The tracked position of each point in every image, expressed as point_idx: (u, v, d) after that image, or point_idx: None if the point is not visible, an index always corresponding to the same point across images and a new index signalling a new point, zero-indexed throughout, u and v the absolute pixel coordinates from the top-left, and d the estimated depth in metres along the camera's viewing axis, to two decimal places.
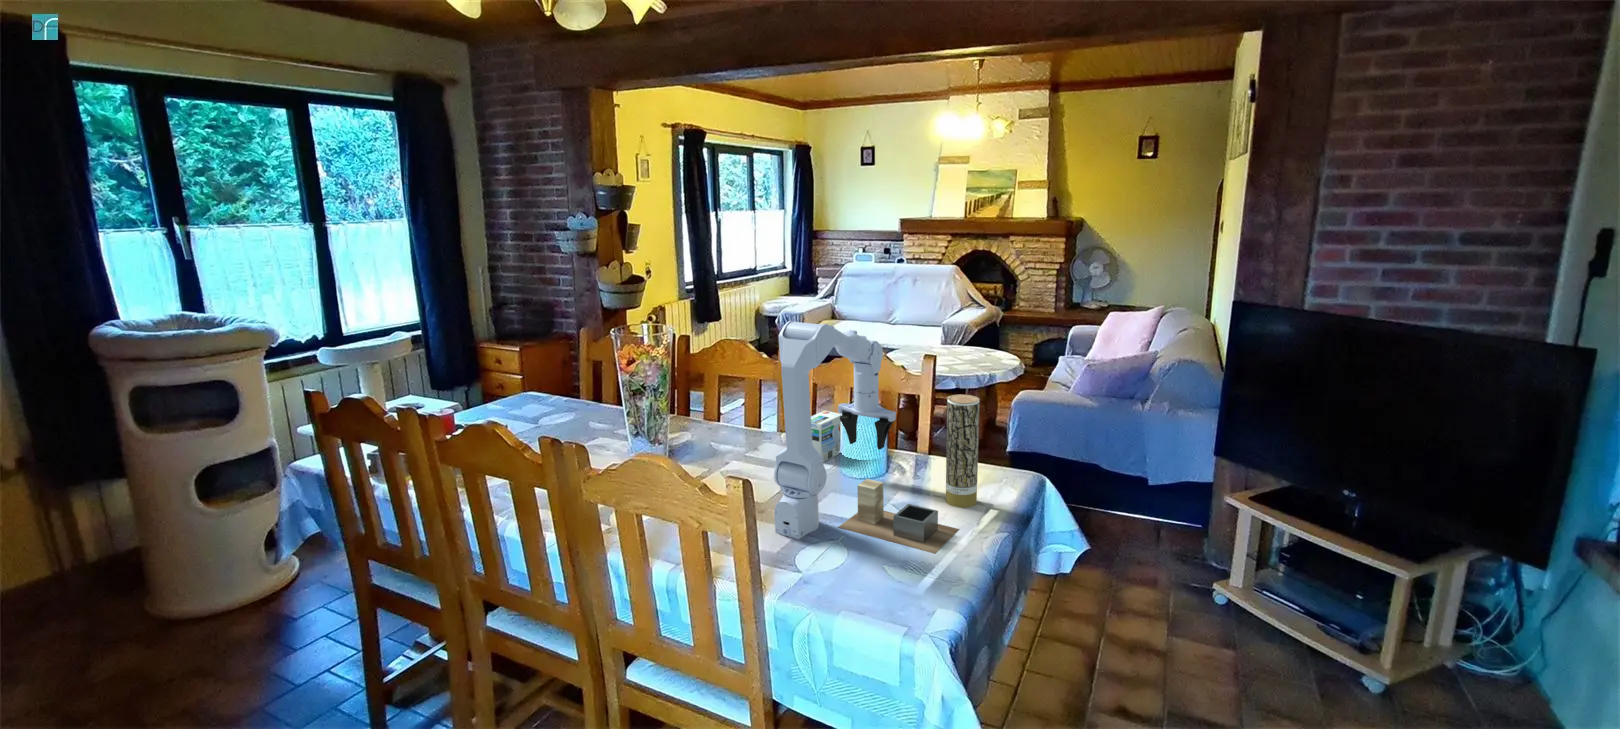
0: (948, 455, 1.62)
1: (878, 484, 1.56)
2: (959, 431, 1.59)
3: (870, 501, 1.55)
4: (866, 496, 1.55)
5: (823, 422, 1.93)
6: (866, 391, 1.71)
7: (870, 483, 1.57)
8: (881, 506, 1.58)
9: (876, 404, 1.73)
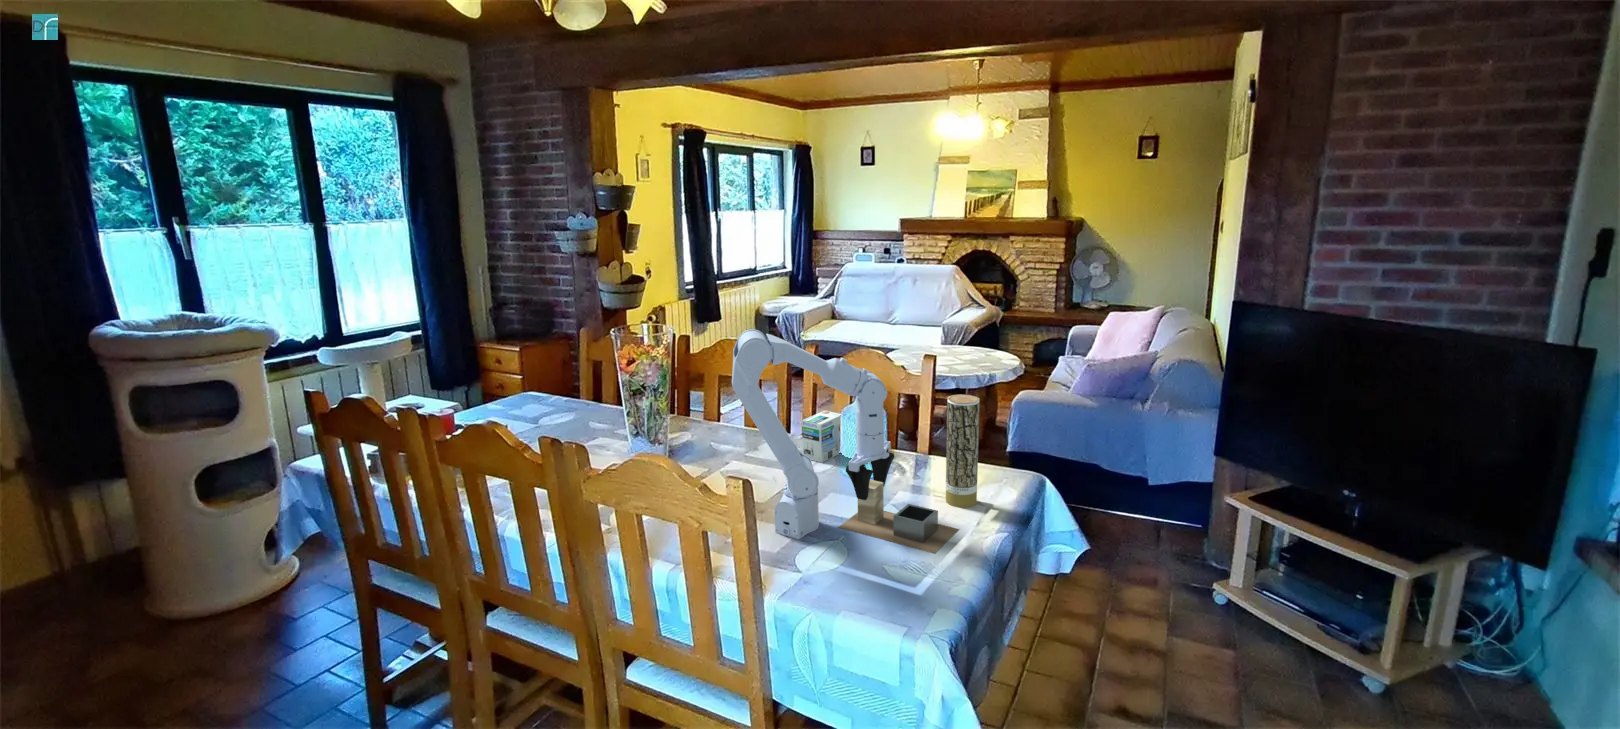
0: (948, 455, 1.62)
1: (878, 484, 1.56)
2: (959, 431, 1.59)
3: (870, 501, 1.55)
4: None
5: (823, 422, 1.93)
6: (860, 431, 1.52)
7: (870, 483, 1.57)
8: (881, 506, 1.58)
9: (862, 448, 1.52)
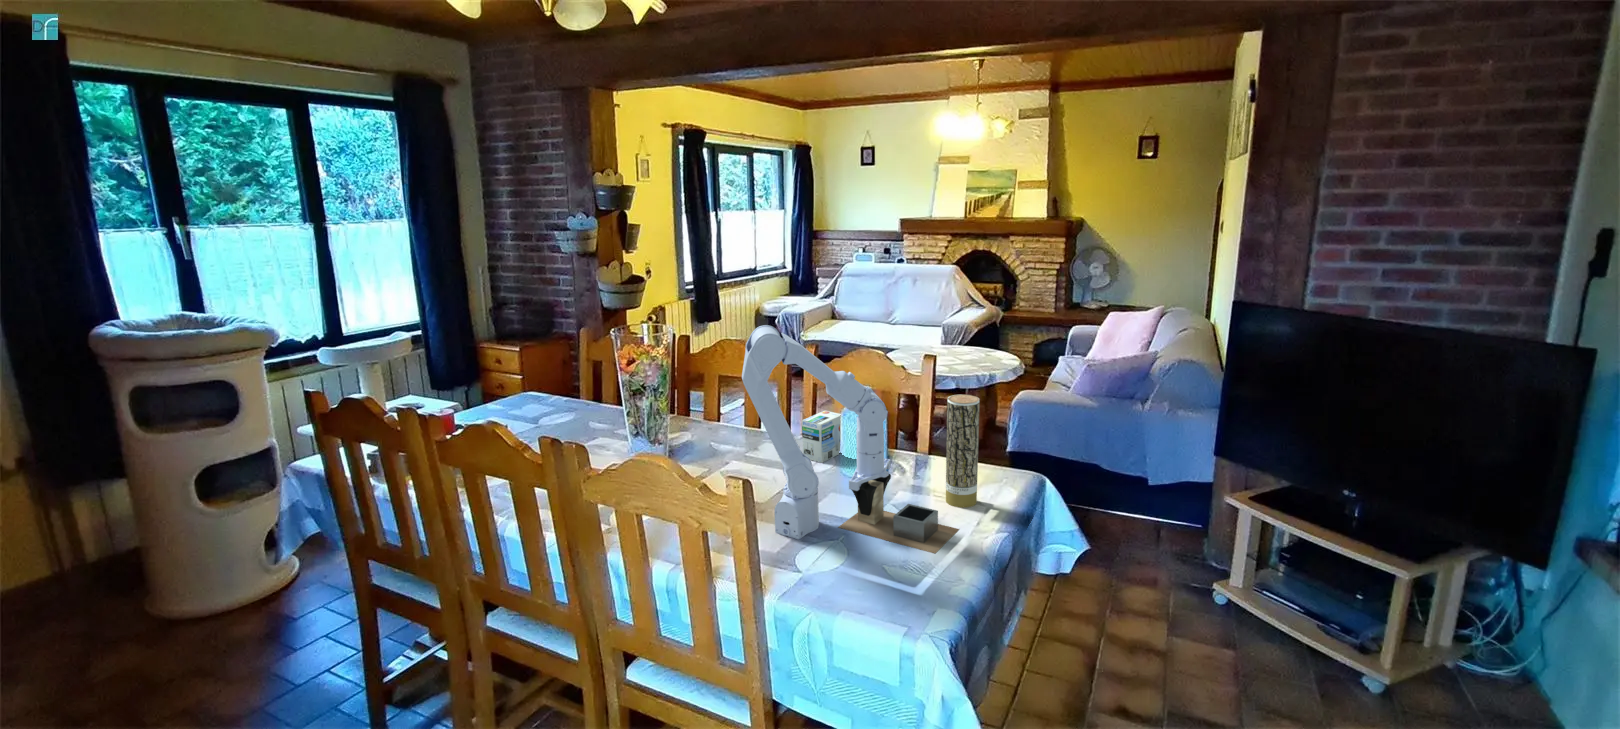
0: (948, 455, 1.62)
1: (878, 484, 1.56)
2: (959, 431, 1.59)
3: None
4: None
5: (823, 422, 1.93)
6: (860, 450, 1.53)
7: (870, 483, 1.57)
8: (881, 506, 1.58)
9: (862, 467, 1.53)
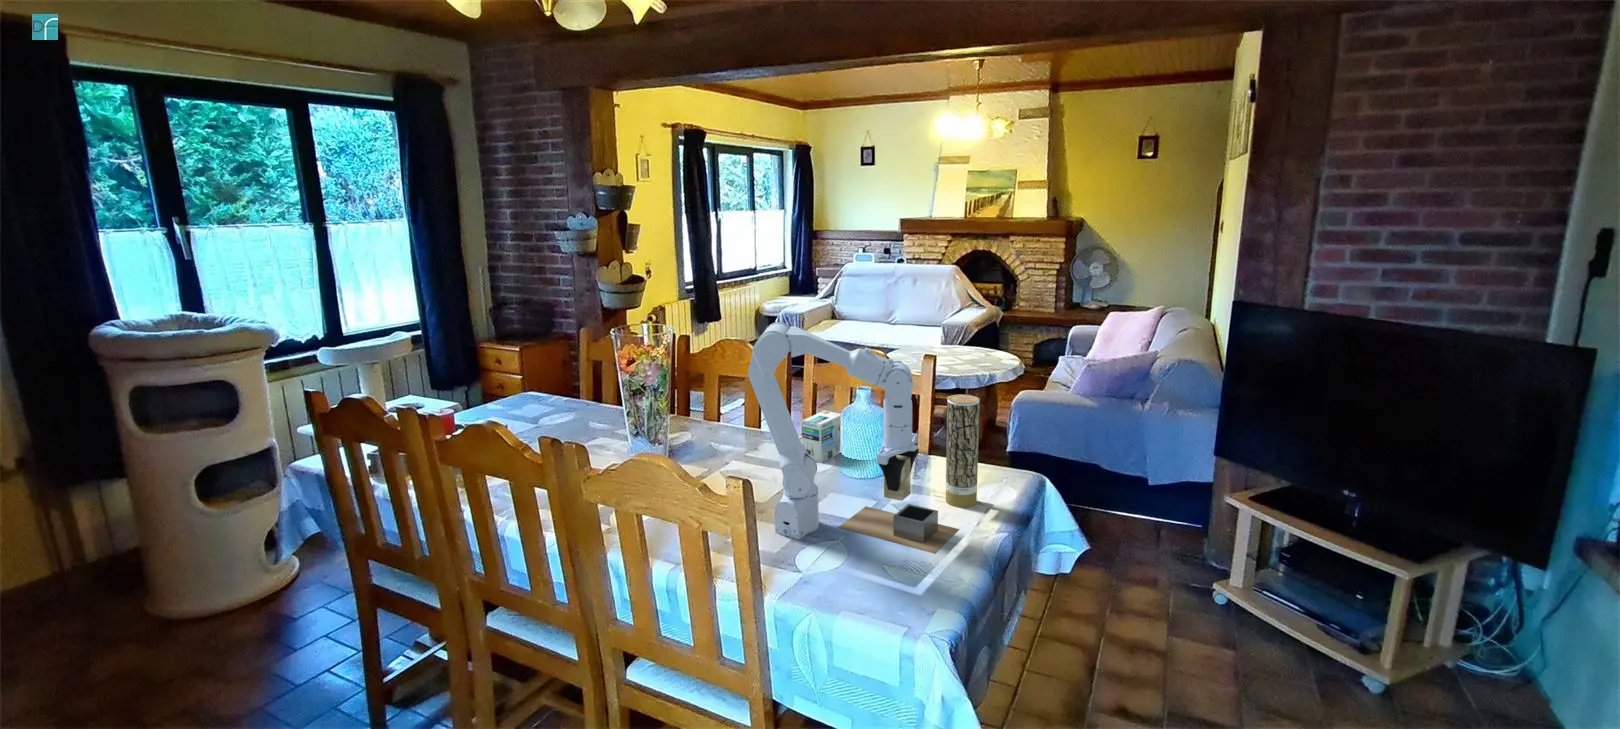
0: (948, 455, 1.62)
1: (905, 459, 1.51)
2: (959, 431, 1.59)
3: None
4: None
5: (823, 422, 1.93)
6: (885, 422, 1.48)
7: None
8: (908, 482, 1.52)
9: (890, 441, 1.48)
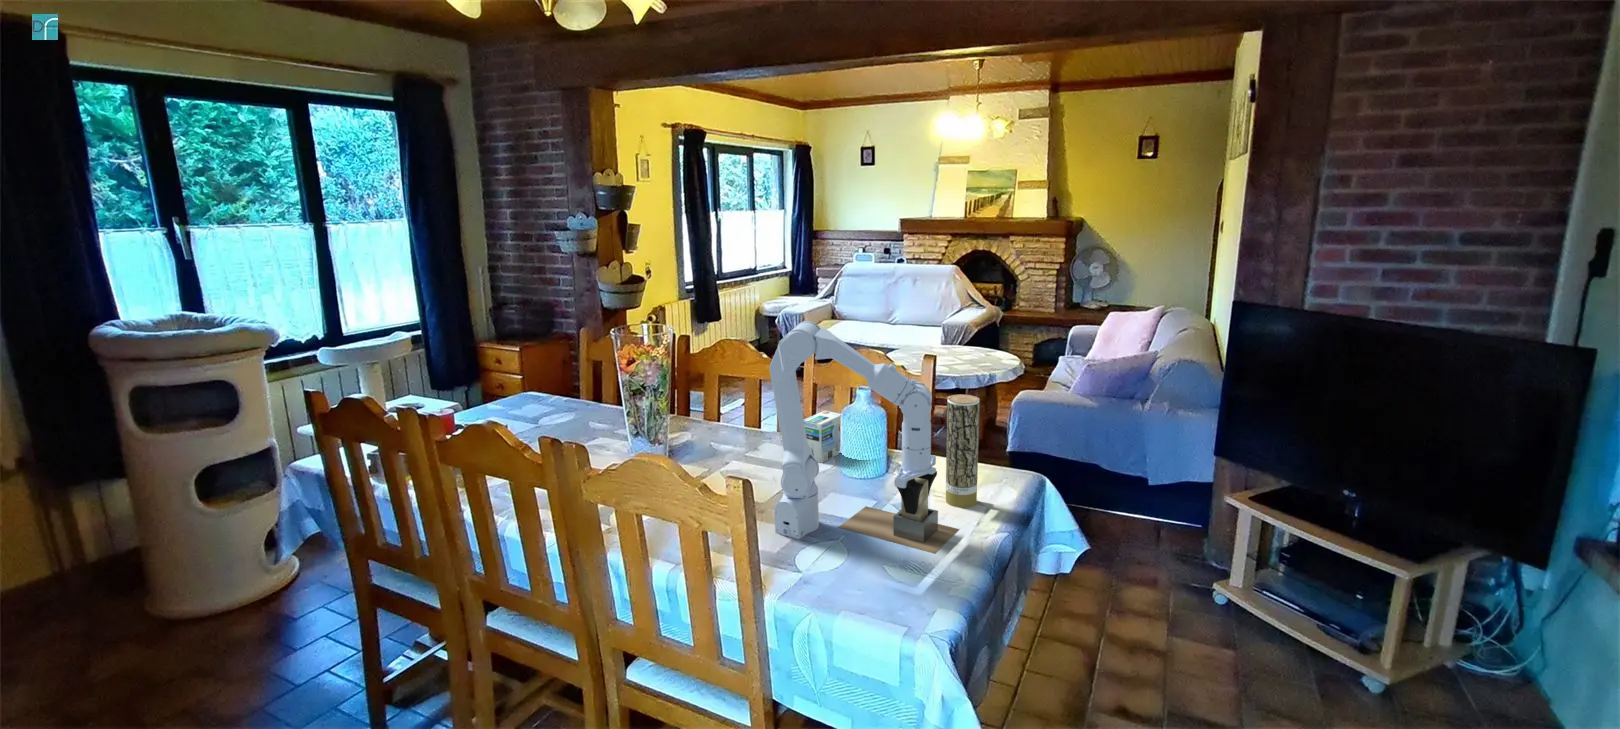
0: (948, 455, 1.62)
1: (923, 482, 1.49)
2: (959, 431, 1.59)
3: None
4: None
5: (823, 422, 1.93)
6: (903, 444, 1.46)
7: None
8: (926, 505, 1.50)
9: (909, 463, 1.46)
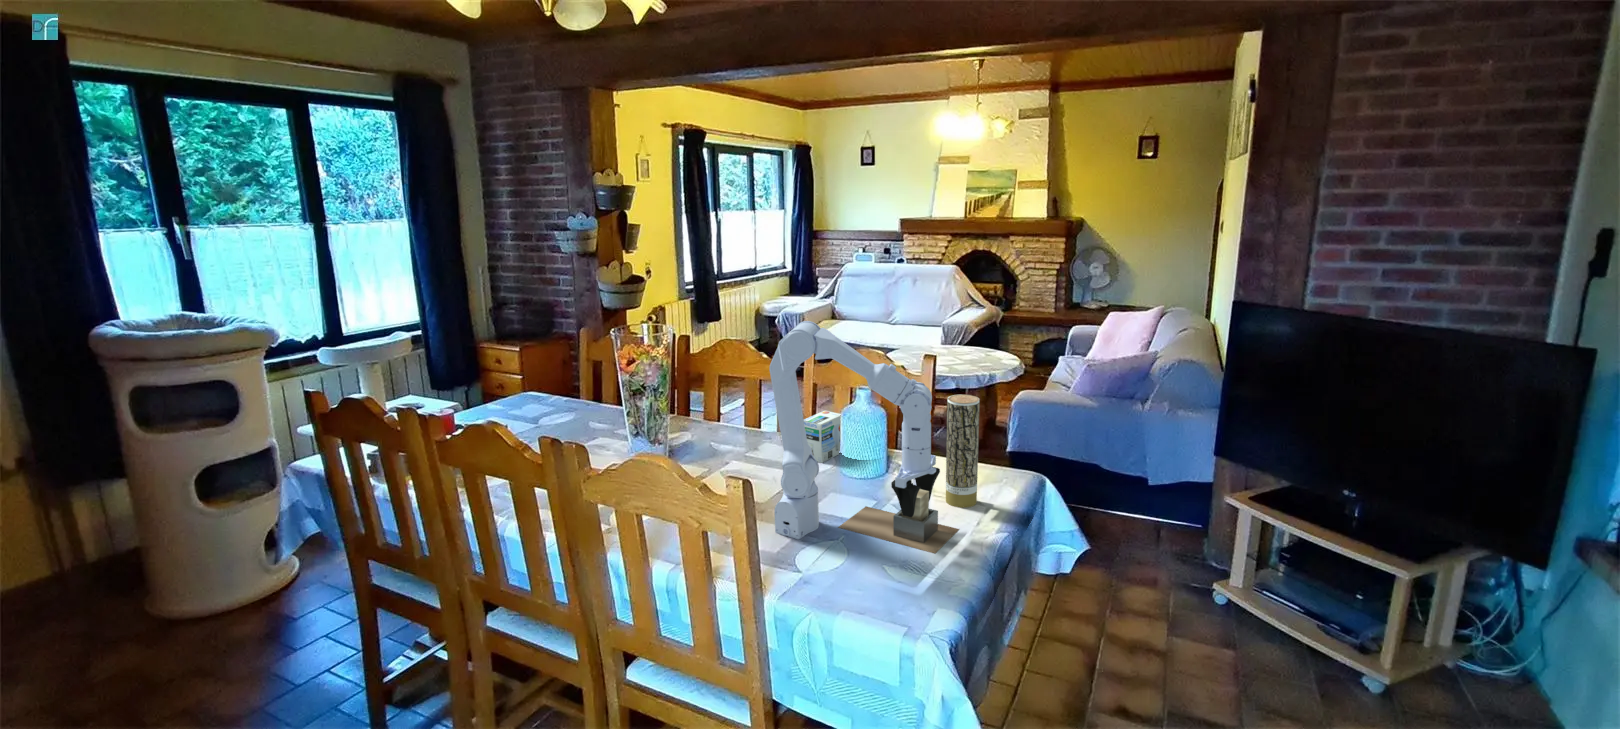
0: (948, 455, 1.62)
1: (924, 493, 1.49)
2: (959, 431, 1.59)
3: (916, 510, 1.48)
4: None
5: (823, 422, 1.93)
6: (903, 444, 1.46)
7: None
8: (926, 516, 1.51)
9: (909, 463, 1.46)
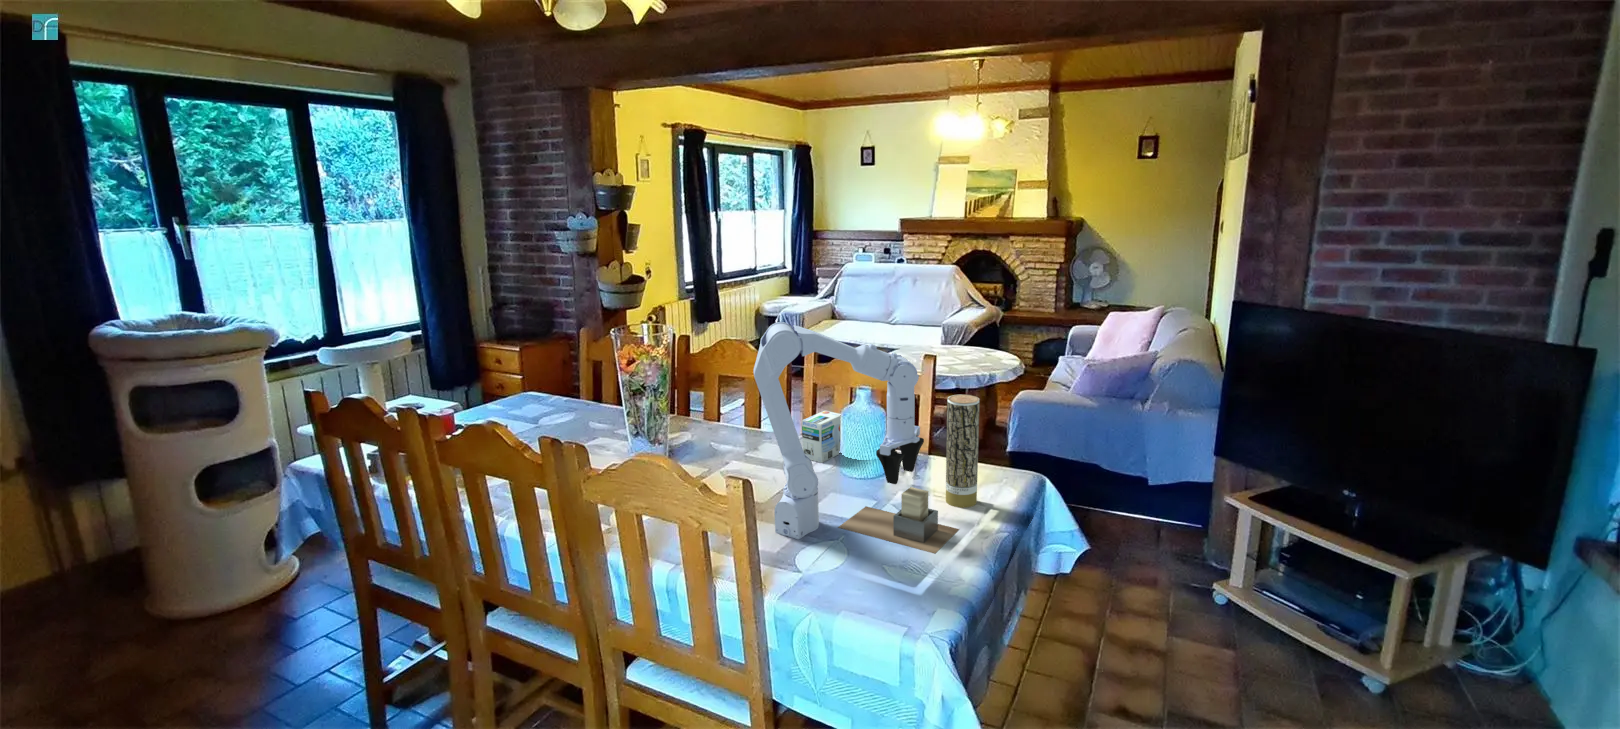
0: (948, 455, 1.62)
1: (923, 493, 1.49)
2: (959, 431, 1.59)
3: (915, 510, 1.48)
4: (911, 505, 1.49)
5: (823, 422, 1.93)
6: (890, 415, 1.52)
7: (914, 492, 1.50)
8: (926, 516, 1.51)
9: (893, 432, 1.52)
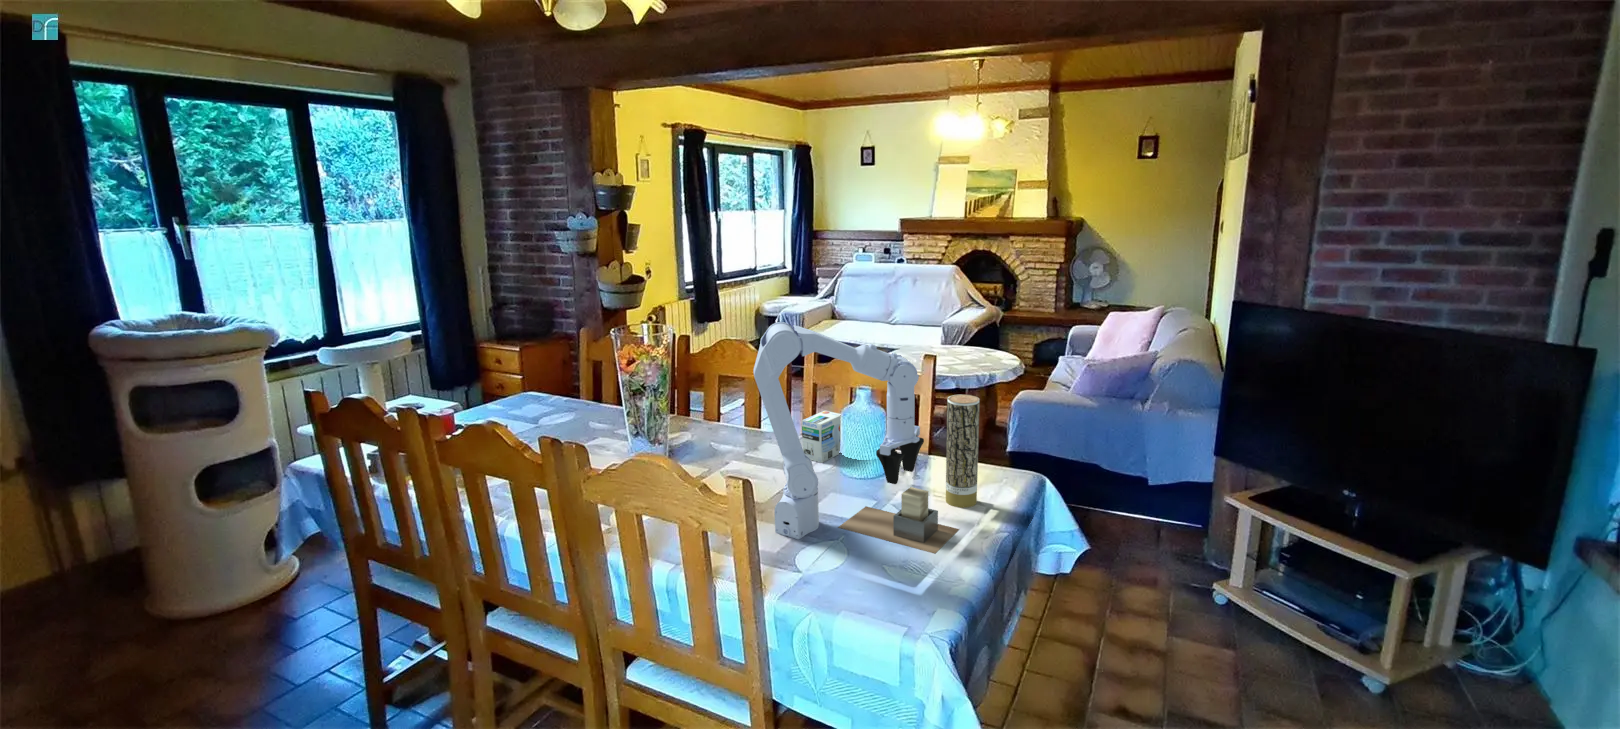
0: (948, 455, 1.62)
1: (923, 493, 1.49)
2: (959, 431, 1.59)
3: (915, 510, 1.48)
4: (911, 505, 1.49)
5: (823, 422, 1.93)
6: (890, 415, 1.52)
7: (914, 492, 1.50)
8: (926, 516, 1.51)
9: (893, 432, 1.52)
